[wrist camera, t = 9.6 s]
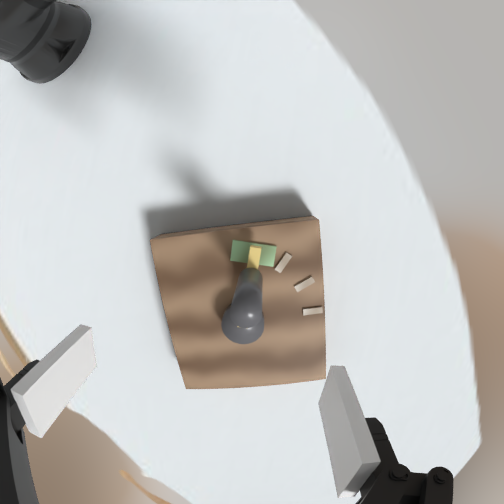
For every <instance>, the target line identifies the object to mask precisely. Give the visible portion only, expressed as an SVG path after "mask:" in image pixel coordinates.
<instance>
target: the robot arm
mask: <svg viewBox="0 0 504 504" xmlns="http://www.w3.org/2000/svg"><path fill="white" fill-rule="evenodd" d="M90 29H91V20H90V17H89V15H88V13H87V12H85V11H84V10H83V9H82V8H80V7H79V6H76V5H71V4H69V5H67V4H64V3H61V2H56V0H0V59H1V60H4V61H7V62H10V63H11V64H12V65H13V66H14V67H15V68H16V69H17V70H18V71H20V73H21V75H22V76H23V77H24V78H25V79H27V80H29V81H32V82H35V83H46V82H48V81H51V80H53V79H55V78H56V77H58V76H59V75H60V74H62V73H63V72H64V71H65V70H66V69H67V68H68V67H69V66H70V65H71V64H72V63H73V62H74V61H75V59H76V58H77V57H78V55H79V54H80V53H81V51H82V49H83V48H84V46H85V44H86V42H87V39H88V37H89V33H90ZM96 367H97V363H96V357H95V350H94V343H93V336H92V328H91V327H88V326H85V325H79V326H78V327H77V328H76V329H75V330H74V331H73V332H71V333H70V334H69V335H68V336H67V337H66V338H65V339H64V340H62V341H61V342H60V343H59V344H58V345H57V346H56V347H55V348H54V349H53V350H51V351H50V352H49V353H48V354H47V355H46V356H45V357H44V358H43V359H42V360H41V361H39V360H35V361H32V362H30V363H28V364H27V365H26V366H25V367H24V368H23V370H21V371H20V372H19V373H18V374H16V375H15V376H14V377H13V378H12V379H11V380H10V381H9V382H8V383H7V384H6V385H5V386H3V383H2V381H1V378H0V504H39V502H38V498H37V495H36V491H35V487H34V483H33V479H32V475H31V470H30V465H29V460H28V454H27V448H26V442H25V435H24V431H23V426H24V425H25V424H26V426H27V428H28V429H29V432H31V433H33V434H34V435H36V436H38V437H40V438H42V437H43V435H44V434H45V433H46V431H47V430H48V429H49V427H50V426H51V425H52V423H53V422H54V421H55V419H56V418H57V417H58V415H59V414H60V413H61V411H62V410H63V409H64V408H65V406H66V405H67V404H68V402H69V401H70V400H71V399H72V397H73V396H74V395H75V393H76V392H77V391H78V390H79V388H80V387H81V386H82V385H83V383H84V382H85V381H86V380H87V378H88V377H89V376H90V375H91V373H92V372H93V371H94V370H95V368H96ZM318 404H319V408H320V413H321V417H322V422H323V427H324V431H325V436H326V441H327V446H328V450H329V455H330V460H331V465H332V470H333V475H334V480H335V485H336V490H337V496H338V498H343V497H353V496H355V495H356V494H357V493H358V492H359V490H360V492H361V496H362V497H361V498H360V499H359V500H358V502H357V503H356V504H452V501H453V475H452V473H451V472H450V471H449V470H448V469H446V468H444V467H435V468H432V469H431V470H430V471H429V472H428V474H425V473H413V472H410V470H409V469H408V468H407V467H406V466H404V465H402V464H399V463H398V461H397V458H396V456H395V453H394V451H393V449H392V446H391V444H390V441H389V440H388V437H387V434H386V432H385V429H384V427H383V425H382V424H381V423H380V422H379V421H378V420H377V419H376V418H365V417H364V415H363V412H362V409H361V407H360V404H359V402H358V399H357V396H356V394H355V391H354V389H353V386H352V384H351V381H350V379H349V376H348V374H347V371H346V369H345V366H331V367H330V370H329V373H328V376H327V380H326V383H325V386H324V389H323V391H322V394H321V397H320V400H319V403H318Z"/></svg>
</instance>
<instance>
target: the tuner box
mask: <svg viewBox="0 0 504 504" xmlns="http://www.w3.org/2000/svg"><path fill="white" fill-rule="evenodd" d="M150 243H151V249H152V254H153V259H154V264H155V269H156V274H157V279H158V284H159V288H160V293H161V297H162V302H163V306H164V310H165V314H166V319H167V323H168V327H169V331H170V334H171V338H172V342H173V346H174V349H175V353H176V357H177V360H178V364H179V367H180V371H181V374H182V377H183V381H184V384H185V387H186V389H218V388H241V387H256V386H269V385H280V384H289V383H298V382H306V381H314V380H321V379H326V341H325V306H324V284H323V267H322V252H321V238H320V226H319V219H317V218H316V217H314V216H308V217H298V218H289V219H280V220H271V221H262V222H253V223H245V224H237V225H228V226H220V227H212V228H205V229H197V230H189V231H182V232H175V233H167V234H161V235H159V236H157V237H155V238H153V239H151V240H150ZM251 245H254V246H260V247H262V249H261V255H260V260H259V266H258V270H259V271H260V272H261V274H262V277H263V292H262V311H263V314H264V331H263V333H262V335H261V337H260V338H259V339H258V340H256V341H255V342H252V343H249V344H238V343H235V342H232V341H231V340H229V339H228V338H227V337H226V336H225V335H224V333H223V331H222V327H221V322H222V318H223V315H224V312H225V310H226V308H227V307H228V306H229V305H230V304H231V303H232V300H233V297H234V293H235V289H236V285H237V282H238V278H239V275H240V273H241V271H242V270H244V269H246V268H247V264H248V258H249V251H250V246H251Z"/></svg>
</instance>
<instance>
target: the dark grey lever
mask: <svg viewBox="0 0 504 504" xmlns="http://www.w3.org/2000/svg"><path fill="white" fill-rule="evenodd" d="M261 249H262V247H260V246H254V245H251V246H250V251H249V258H248V264H247V268H246V269H244V270H242V271H241V273H240V275H239V278H238V282H237V285H236V289H235V293H234V297H233V300H232V303H231V304H230V305H229V306H228V307H227V308H226V310H225V312H224V315H223V318H222V322H221V327H222V331H223V333H224V335H225V336H226V337H227V338H228V339H229V340H231V341H232V342H235V343H238V344H249V343H252V342H255V341H256V340H258V339H259V338H260V337H261V335H262V333H263V331H264V314H263V311H262V292H263V277H262V274H261V272H260V271H259V270H258V266H259V260H260V255H261Z"/></svg>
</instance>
